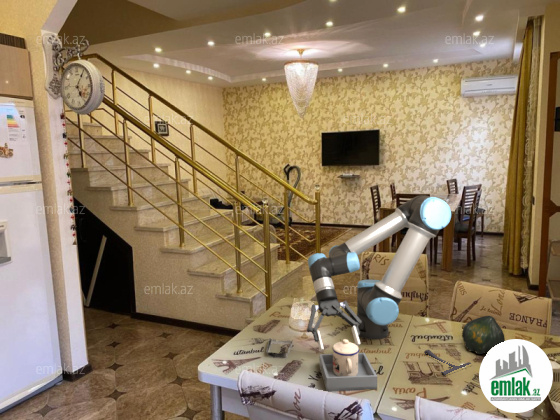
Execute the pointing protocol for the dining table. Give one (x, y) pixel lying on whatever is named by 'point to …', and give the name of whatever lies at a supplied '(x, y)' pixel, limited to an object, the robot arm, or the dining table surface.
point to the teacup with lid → (345, 358)
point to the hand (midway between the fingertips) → (340, 347)
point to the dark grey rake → (446, 363)
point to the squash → (482, 334)
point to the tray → (347, 383)
